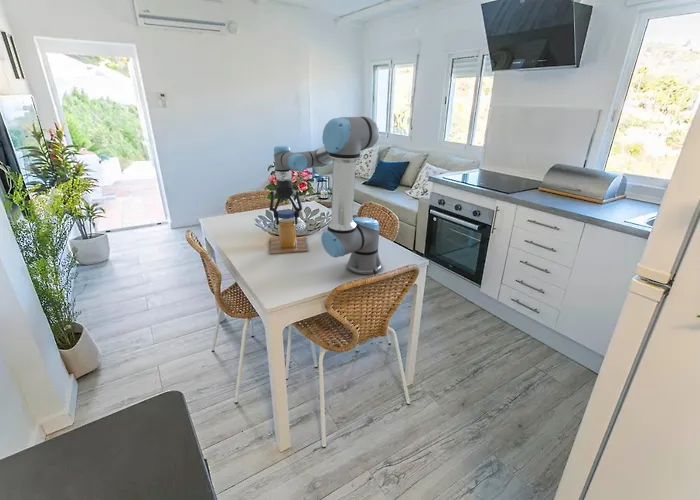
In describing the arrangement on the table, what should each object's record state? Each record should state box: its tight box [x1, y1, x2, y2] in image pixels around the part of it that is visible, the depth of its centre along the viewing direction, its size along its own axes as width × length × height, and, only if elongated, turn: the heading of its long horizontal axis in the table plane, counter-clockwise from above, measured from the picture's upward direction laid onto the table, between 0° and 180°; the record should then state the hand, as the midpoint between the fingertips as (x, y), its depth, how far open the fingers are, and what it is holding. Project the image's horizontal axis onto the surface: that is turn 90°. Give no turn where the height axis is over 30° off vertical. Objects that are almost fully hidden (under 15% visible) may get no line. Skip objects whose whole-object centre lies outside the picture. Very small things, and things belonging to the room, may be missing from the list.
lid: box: [277, 208, 296, 220], centre depth 174 cm, size 9×9×2 cm
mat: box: [270, 236, 308, 255], centre depth 181 cm, size 20×18×1 cm
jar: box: [278, 218, 297, 247], centre depth 179 cm, size 8×8×13 cm
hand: (287, 223), depth 176 cm, fingers closed on lid, 9 cm apart
